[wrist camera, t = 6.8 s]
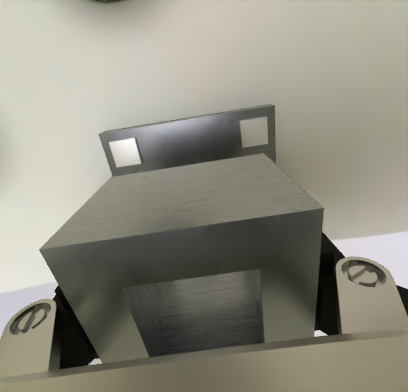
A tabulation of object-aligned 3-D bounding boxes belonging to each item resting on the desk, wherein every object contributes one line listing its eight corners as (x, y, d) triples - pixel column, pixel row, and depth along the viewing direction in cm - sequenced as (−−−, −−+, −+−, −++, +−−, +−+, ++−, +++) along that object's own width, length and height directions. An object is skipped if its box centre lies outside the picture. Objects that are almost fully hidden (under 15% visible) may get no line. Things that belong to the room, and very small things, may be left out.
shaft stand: (269, 104, 16) (308, 111, 11) (272, 214, 20) (302, 261, 14) (104, 131, 17) (58, 151, 11) (138, 233, 20) (116, 288, 15)
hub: (263, 153, 10) (323, 208, 5) (268, 272, 12) (310, 376, 8) (111, 177, 10) (38, 249, 5) (149, 288, 13) (122, 399, 8)
